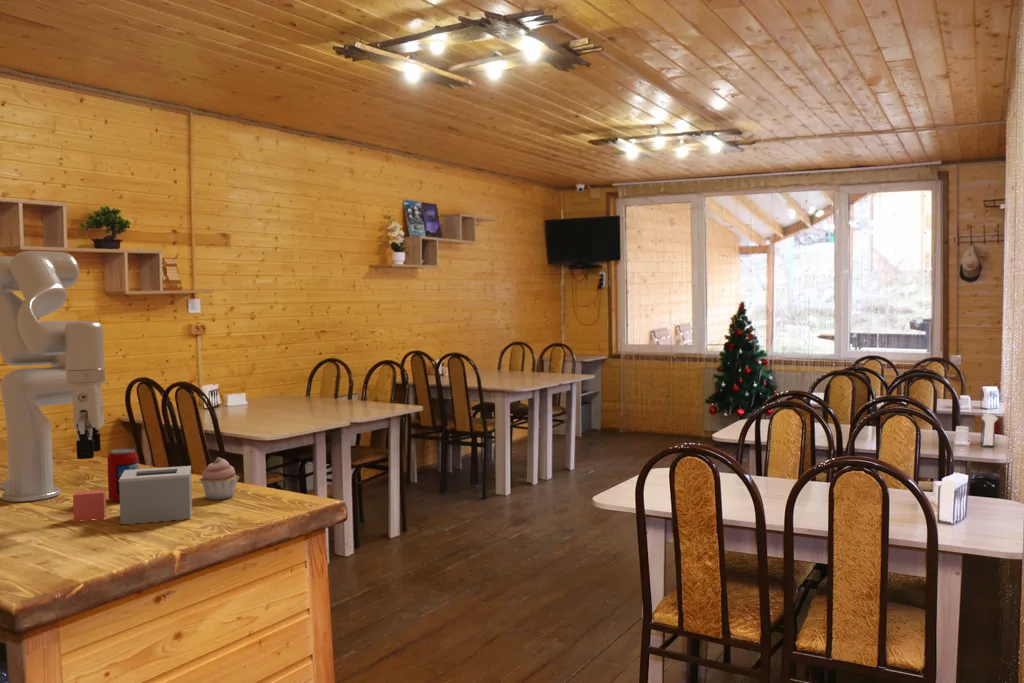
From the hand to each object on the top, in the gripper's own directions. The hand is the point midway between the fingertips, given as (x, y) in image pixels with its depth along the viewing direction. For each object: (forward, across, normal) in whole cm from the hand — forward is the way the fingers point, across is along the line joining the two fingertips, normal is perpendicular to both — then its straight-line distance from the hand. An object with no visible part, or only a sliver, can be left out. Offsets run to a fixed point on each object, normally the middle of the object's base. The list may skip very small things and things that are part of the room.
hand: (89, 454), depth 180 cm
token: (+14, +1, 0) cm, 15 cm away
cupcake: (+15, +12, -26) cm, 33 cm away
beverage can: (+14, +18, -4) cm, 23 cm away
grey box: (+15, -2, -14) cm, 20 cm away
